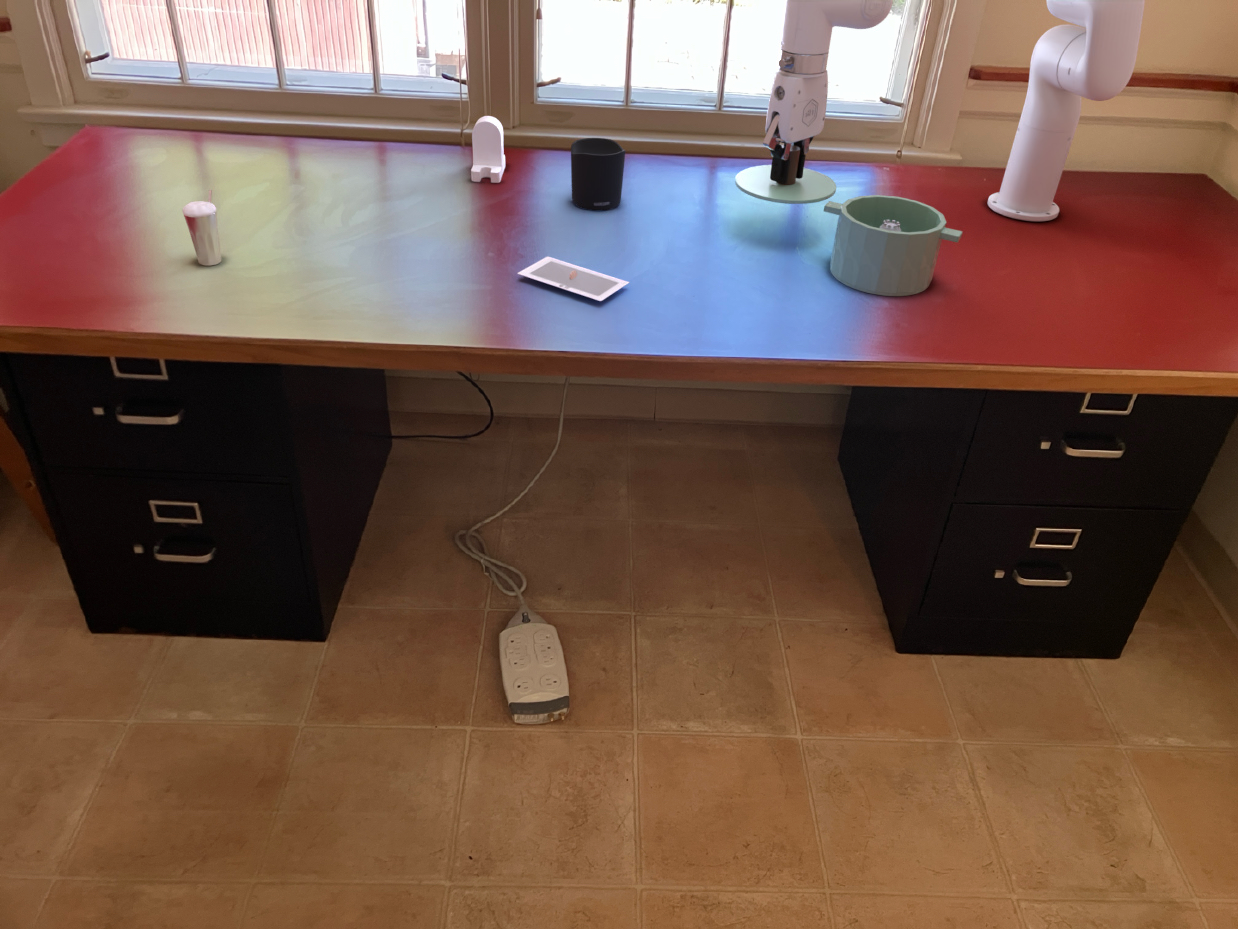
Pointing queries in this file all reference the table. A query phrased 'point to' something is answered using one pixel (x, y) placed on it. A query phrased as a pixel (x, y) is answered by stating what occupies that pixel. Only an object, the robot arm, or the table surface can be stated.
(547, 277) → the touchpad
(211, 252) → the milkshake
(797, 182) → the pot lid
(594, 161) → the pen holder
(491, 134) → the white phone stand
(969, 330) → the table surface
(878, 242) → the pale green cooking pot
